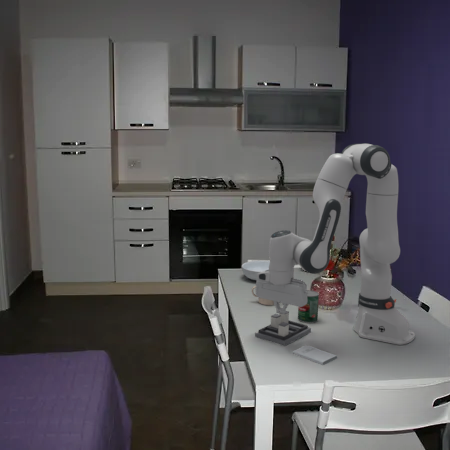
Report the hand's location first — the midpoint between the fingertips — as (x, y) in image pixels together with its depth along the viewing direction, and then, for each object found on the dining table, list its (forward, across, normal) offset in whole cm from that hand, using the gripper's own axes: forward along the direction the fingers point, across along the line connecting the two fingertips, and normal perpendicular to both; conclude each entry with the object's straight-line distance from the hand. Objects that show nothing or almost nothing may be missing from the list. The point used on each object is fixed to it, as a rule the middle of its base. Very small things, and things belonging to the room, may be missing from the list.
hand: (281, 313), depth 205 cm
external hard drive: (+11, -17, +4) cm, 20 cm away
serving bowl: (+10, +50, -60) cm, 79 cm away
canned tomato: (+11, +4, -25) cm, 27 cm away
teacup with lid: (+10, +28, -31) cm, 43 cm away
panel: (+10, +2, -5) cm, 11 cm away
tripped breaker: (+8, -1, +1) cm, 8 cm away
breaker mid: (+8, +6, -5) cm, 11 cm away
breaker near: (+8, +6, -10) cm, 14 cm away
